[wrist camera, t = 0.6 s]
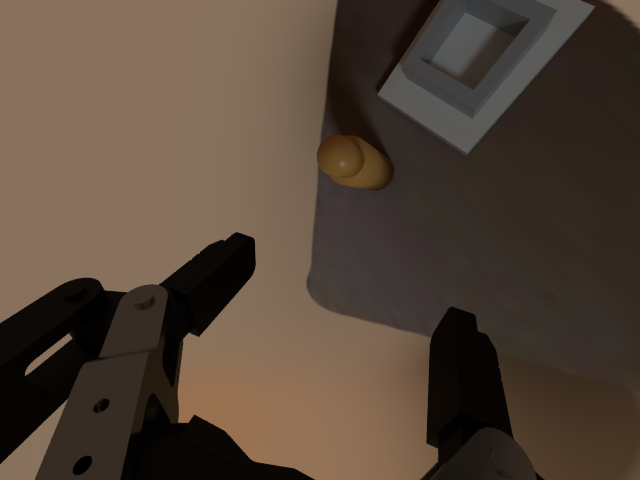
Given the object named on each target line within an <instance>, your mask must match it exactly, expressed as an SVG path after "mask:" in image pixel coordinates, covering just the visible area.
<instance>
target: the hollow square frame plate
mask: <svg viewBox="0 0 640 480" xmlns="http://www.w3.org/2000/svg"><path fill="white" fill-rule="evenodd" d="M593 9H594V6H592V5H590V4H587V3H585V2H583V1H580V0H440V1H439V2H438V4H437V5H436V7H435V8H434V10H433V11H432V13H431V14H430V16H429V17H428V19H427V20H426V22H425V23H424V25H423V26H422V28H421V29H420V31H419V32H418V34H417V35H416V37H415V39H414V40H413V42H412V43H411V45H410V46H409V48H408V49H407V51H406V52H405V54H404V55H403V57H402V58H401V60H400V61H399V63H398V64H397V66H396V67H395V69H394V70H393V72H392V73H391V75H390V76H389V78H388V79H387V81H386V82H385V84H384V85H383V87H382V88H381V90H380V91H379V93H378V96H379V97H380V99H381V100H383V101H384V102H386V103H387V104H389V105H390V106H392V107H393V108H395V109H396V110H398V111H399V112H401V113H402V114H404V115H405V116H407V117H408V118H410V119H411V120H413V121H414V122H416V123H417V124H419V125H420V126H422V127H423V128H425V129H426V130H428V131H429V132H431V133H432V134H434V135H435V136H437V137H438V138H440V139H441V140H443V141H444V142H446V143H447V144H449V145H450V146H452V147H453V148H455V149H456V150H458V151H459V152H461V153H462V154H464V155H465V156H467V154H468V153H469V152H470V151H471V150H472V149H473V148H474V146H475V145H476V144H477V143H478V142H479V141H480V140H481V138H482V137H483V136H484V135H485V134H486V133H487V132H488V130H489V129H490V128H491V127H492V126H493V125H494V124H495V122H496V121H497V120H498V119H499V118H500V117H501V116H502V114H503V113H504V112H505V111H506V110H507V109H508V108H509V106H510V105H511V104H512V103H513V102H514V101H515V100H516V98H517V97H518V96H519V95H520V94H521V93H522V92H523V90H524V89H525V88H526V87H527V86H528V85H529V84H530V82H531V81H532V80H533V79H534V78H535V77H536V76H537V74H538V73H539V72H540V71H541V70H542V69H543V68H544V66H545V65H546V64H547V63H548V62H549V61H550V60H551V58H552V57H553V56H554V55H555V54H556V53H557V51H558V50H559V49H560V48H561V47H562V46H563V45H564V43H565V42H566V41H567V40H568V39H569V38H570V37H571V35H572V34H573V33H574V32H575V31H576V30H577V29H578V27H579V26H580V25H581V24H582V23H583V22H584V21H585V19H586V18H587V17H588V16H589V14H590V13H591V11H592V10H593Z"/></svg>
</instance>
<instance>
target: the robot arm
mask: <svg viewBox="0 0 640 480" xmlns="http://www.w3.org/2000/svg"><path fill="white" fill-rule="evenodd" d="M255 266H256V260H255V240H254V238H252V237H250V236H247V235H244V234H241V233H238V232H236V233H234V234H233V235H231V236H230V237H229V238H228V239H227V240H225V241H224V240H220V241H218V242H215V243H213V244H210V245H208V246H207V247H206V248H205V249H203V250H202V251H201V252H200V254H197V255H196V256H195V257H193V258H192V260H190V261H188V262H187V263H186V264H185V265H183V266H182V267H181V268H180V269H178V270H177V271H176V272H174V273H173V274H172V275H171V276H170V277H168V278H167V279H166V280H164V281H163V282H162V283H161V284H159V285H153V284H152V285H144V286H140V287H137V288H135V289H133V290H131V291H130V292H116V291H105V290H104V289H103V287H102V285H101V283H100V282H99V281H98V280H96V279H93V278H80V279H75V280H71V281H69V282H66V283H64V284H62V285H60V286H58V287H57V288H55V289H54V290H52V291H50V292H49V293H47V294H46V295H44V296H43V297H41V298H39V299H38V300H36V301H35V302H33V303H31V304H30V305H28V306H27V307H25V308H24V309H22V310H20V311H19V312H17V313H16V314H14V315H13V316H11V317H9V318H8V319H6V320H5V321H3V322H1V323H0V464H1V463H2V462H3V461H4V460H5V459H6V458H7V457H8V456H9V455H10V454H11V453H12V452H13V451H14V450H15V449H16V448H17V447H18V446H20V445H21V444H22V443H23V442H24V441H25V440H26V439H27V438H28V437H29V436H30V435H31V434H32V433H33V432H34V431H35V430H36V429H37V428H38V427H39V426H40V425H41V424H42V423H43V422H44V421H45V420H46V419H47V418H48V417H49V416H50V415H51V414H52V413H54V412H55V411H56V410H57V409H58V408H59V407H60V406H61V405H62V404H63V403H64V402H65V401H66V400H67V399H68V401H67V404H66V405H65V408H64V410H63V413H62V415H61V417H60V420H59V423H58V425H57V427H56V430H55V432H54V435H53V437H52V439H51V442H50V444H49V447H48V449H47V451H46V454H45V456H44V459H43V461H42V463H41V466H40V468H39V471H38V473H37V475H36V478H35V480H315V479H313V478H311V477H309V476H307V475H305V474H303V473H302V472H300V471H298V470H296V469H294V468H288V467H282V466H276V465H270V464H264V463H258V462H254V461H252V460H251V459H250V458H249V457H248V456H247V455H246V454H245V453H244V452H243V451H242V449H241V448H240V447H239V446H238V445H237V444H236V443H235V442H234V441H233V439H232V438H231V437H230V436H229V435H228V434H227V433H226V432H225V431H224V430H222V429H220V428H218V427H216V426H215V425H213V424H211V423H209V422H207V421H205V420H203V419H202V418H200V417H198V416H196V415H194V416H193V417H192V419H191V420H190V422H189V423H178V418H179V404H178V394H177V393H178V383H179V374H180V365H181V358H182V349H183V338H184V337H185V336H186V335H187V334H188V333H191V334H193V335H196V336H198V337H199V336H200V335H201V334H202V333H203V332H204V331H205V329H206V328H207V327H208V326H209V325H210V324H211V322H212V321H213V320H214V319H215V318H216V317H217V316H218V314H219V313H220V312H221V311H222V310H223V309H224V308H225V306H226V305H227V304H228V303H229V302H230V301H231V300H232V299H233V297H234V296H235V295H236V294H237V293H238V292H239V290H240V289H241V288H242V287H243V286H244V285H245V284H246V282H247V281H248V280H249V279H250V278H251V276H252V275H253V273H254V270H255ZM68 333H69V334H70V335H71V337H72V338H73V339H72V340H70V341H69V342H68V343H67V344H65V345H64V346H63V347H62V348H60V349H59V350H58V351H57V352H55V353H54V354H53V355H52V356H50V357H49V358H48V359H47V360H45V361H44V362H43V363H42V364H41V365H39V366H38V367H37V368H36V369H35V370H33V371H32V372H31V373H29V374H28V375H26V376H25V371H26V369H27V367H28V366H29V365H30V363H32V362H33V361H34V360H35V359H36V358H37V357H39V356H40V355H41V354H43V353H44V352H45V351H46V350H48V349H49V348H50V347H51V346H53V345H54V344H55V343H56V342H58V341H59V340H60V339H62V338H63V337H64V336H66V335H67V334H68ZM498 366H499V363H498V358H497V353H496V349H495V348H494V346H493V344H492V342H491V341H490V339H489V337H488V336H487V334H484V333H481V332H478V329H477V322H476V317H475V315H474V314H472V313H469V312H466V311H463V310H460V309H457V308H455V307H450V308H449V309H448V310H447V312H446V313H445V315H444V317H443V318H442V320H441V321H440V323H439V324H438V326H437V328H436V329H435V331H434V333H433V335H432V338H431V343H430V357H429V385H428V414H427V441H426V443H427V444H429V445H431V446H434V447H436V448H438V462H437V463H436V464H435V465H434V466H433V467H432V468H431V469H430V470H429V471H428V472H427V473H426V474H425V475H424V476H423V477H422V478H421V479H420V480H544V479H543V478H542V477H540V476H539V475H538V474H537V473H536V472H535V471H534V468H533V466H532V464H531V461H530V460H529V458H528V456H527V455H526V453H525V452H524V451H523V449H522V448H521V447H520V446H519V444H518V443H517V442H516V441H515V440H514V438H513V434H512V430H511V425H510V419H509V415H508V409H507V404H506V399H505V394H504V389H503V383H502V381H501V373H500V369H499V368H498Z"/></svg>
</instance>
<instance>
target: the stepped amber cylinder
mask: <svg viewBox="0 0 640 480" xmlns="http://www.w3.org/2000/svg"><path fill="white" fill-rule="evenodd" d="M317 161H318V164H319V167H320V168H321V170H322V171H323V172H325V173H327V174H329V176H330V177H331V178H332V179H333V180H334V181H335V182H337V183H339V184H341V185H347V186H352V187H357V188H363V189H368V190H374V191H376V190H381V189H383V188H385V187H386V186H387V185H388V184H389V183H390V182H391V180H392V178H393V174H394V168H393V164H392V162H391V161H390V160H389V159H388V158H387V157H386V156H385V155H383V154H382V153H380V152H379V151H378V150H376V149H375V148H374V147H372V146H371V145H370V144H368V143H367V142H366V141H364V140H363V139H361V138H360V137H357V136H353V135H348V136H343V135H339V134H334V135H331V136H329V137H327V138H325V139H324V140H323V141H322V143H321V144H320V146H319V148H318V152H317Z"/></svg>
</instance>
